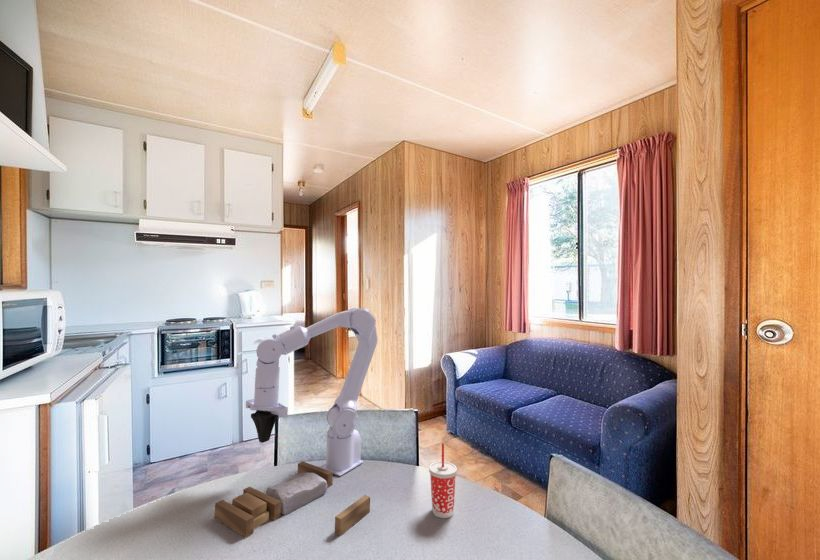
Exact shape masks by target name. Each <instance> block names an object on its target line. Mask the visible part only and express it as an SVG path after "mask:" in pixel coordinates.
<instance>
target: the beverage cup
mask: <svg viewBox="0 0 820 560" xmlns="http://www.w3.org/2000/svg"><path fill="white" fill-rule="evenodd" d="M428 472H429V476H430V491H431V507H432V508H431V509H432V511H431V512H432V514H433V515H434V516H435V517H437V518H440V519H441V518H442V519H447V518H451V517H453V515H454V512H455V493H456V477H457V476H456V475H457V474H458V468H457V466H456V465H455V464H454V463H452V462H448V461H445V443H443V442H442V443H441V461H435V462H432V463H430V464H429V467H428Z"/></svg>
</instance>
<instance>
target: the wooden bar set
mask: <svg viewBox="0 0 820 560" xmlns="http://www.w3.org/2000/svg"><path fill="white" fill-rule="evenodd" d="M306 472H309V473H315V474H317V475H318V476H320V477H322V478H323V479H325V480H326V482H327V485H328V487H327V488H329V487H331V486H332V485H333V477H334V476H333V475H334V474H333V472H331V471H328V470H326V469H323V468H320V466H317V465H314V464H311V463H308V462H305V461H299V463H297V474H299V473H306ZM242 490H243V491H242V495H243V494H245V493H249V494H251V495H253V496H255V497H257V498H259V499H261V500H263V501H264V502H266V503H267V507H266V511H268V512H269V520H272V521H276V520H277V519H280V518H281V515H282V513H281V501H279V500H277V499H275V498H273V497H271V496H269V495H267V494H266V493H264V492H262V491H260V490H258V489H256V488H254V487H251V486H247V488H243V489H242ZM214 504H215V505H214V520H216V521H218V522H219V523H221V524H223V525H225V526H226V527H228V528H229V529H230V530H232V531H234V532H235V533H237V534H239V535H240V536H242V537H244V538H245V539H246V538H249V536H251V535H253V534H254V530H253V528H254V516H252V515H250V514H248V513H246V512H245V511H243V510H241V509H239V508H237V507H235V506H234V505H232V503H230V502H228V501H226V500H224V499H220V500H219V501H215V503H214ZM370 512H371V496H370V495H369V496H368V495H366V494H364V495H362V496H361V497H359V498H358V499H357V500H355V501H354V502H353V503H351V505H349V506H347V507H345V509H343V510H342V511H341V512H339V513H338V514H337V515H335V516H334V534H336V535H338V536H342V535H343V534H345V533H346V532H348V531H349V529H351V528H353V526H355V525H356V524H357V523H358V522H359V521H360V520H362V519H363V518H365V516H367V515H368V514H369V513H370Z"/></svg>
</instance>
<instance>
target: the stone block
mask: <svg viewBox="0 0 820 560" xmlns="http://www.w3.org/2000/svg"><path fill="white" fill-rule="evenodd" d="M328 488H329V487H328V485H327V482H326V480H325V479H323V478H322V477H320V476H318V475H317V474H315V473H309V472H306V473H299V474H298V473H297V474H296V475H292V476H290V477H288V478H287V479H285V480H284V481H283V482H280V483H278V484H275V485H271V486H269V487H267V488H266V490H265V491H266V492H265V494H267V495H269V496H271V497H273V498H275V499H277V500H279V501H281V515H283V516H286V515H288V514H290V513H293V512H294V511H296V510H298V509H300V508H302V507H304V506H306V505H308V504H309V503H311V502H313V501H315V500H317V499H319V498H321V497H322V496H324V495H325V493H326V492H327V490H328Z"/></svg>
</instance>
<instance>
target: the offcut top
mask: <svg viewBox="0 0 820 560" xmlns="http://www.w3.org/2000/svg"><path fill="white" fill-rule="evenodd" d="M231 504H232V505H234V506H235V507H237V508H239V509H241V510H243V511H245V512H246V513H248V514H250V515H252V516H254V519H255V518H256V517H258V516H260V515H262V514H264V513H265V512H266V507H267V503H266V502H264V501H263V500H261V499H259V498H257V497H255V496H253V495H251V494H249V493H245V494H243V493H242V494H240V495H239V496H237V497H234V498H232V501H231Z"/></svg>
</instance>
